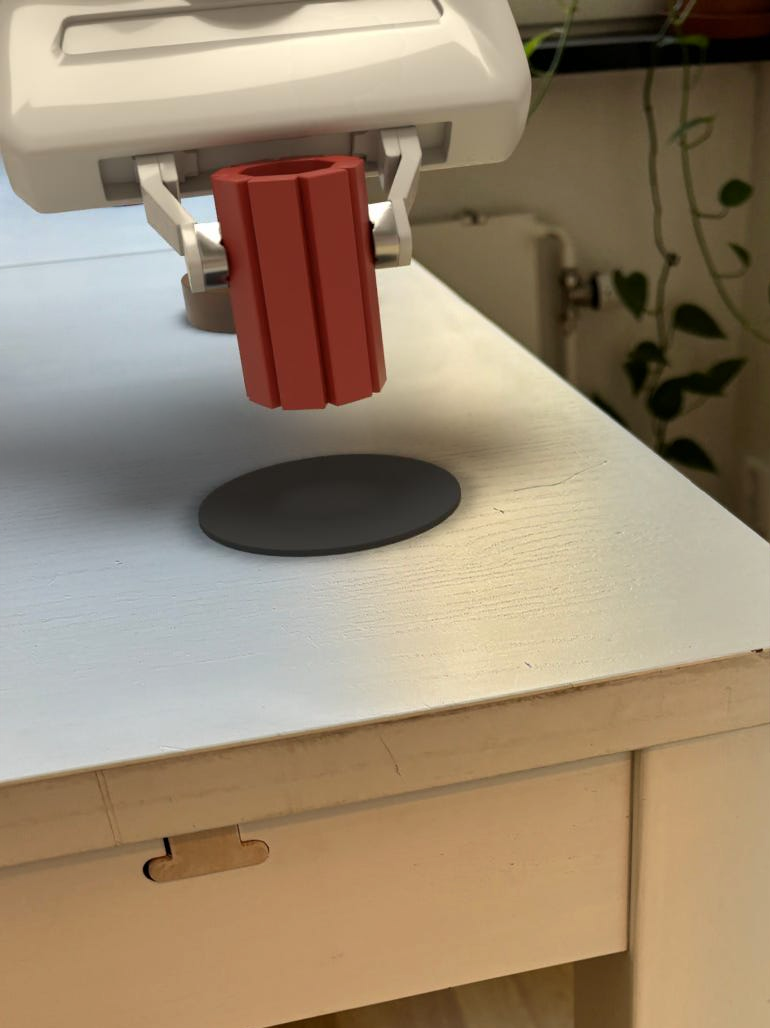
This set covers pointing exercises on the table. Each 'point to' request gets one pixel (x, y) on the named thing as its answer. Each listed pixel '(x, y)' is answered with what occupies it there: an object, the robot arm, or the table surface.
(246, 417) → the table surface
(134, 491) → the table surface
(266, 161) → the red fluted tube
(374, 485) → the coaster
